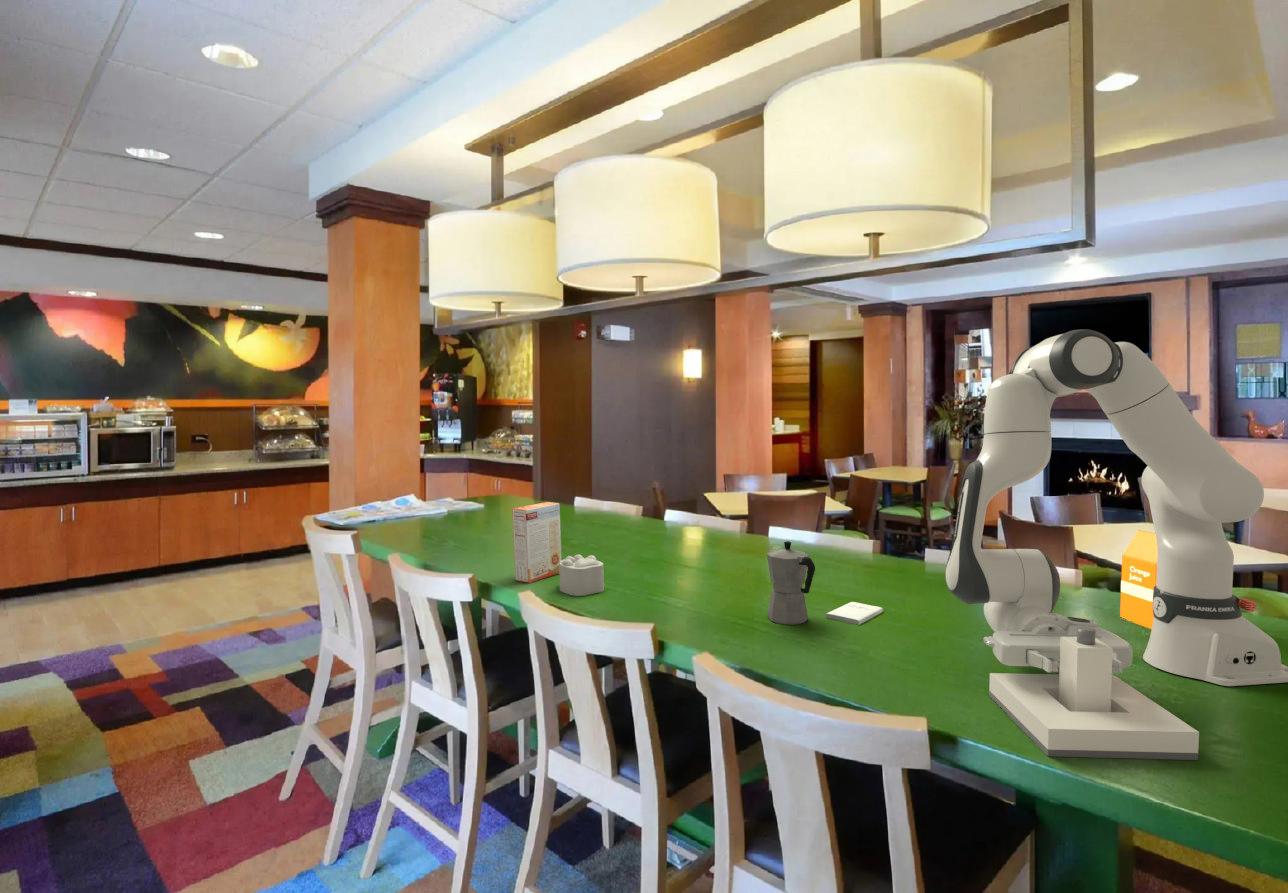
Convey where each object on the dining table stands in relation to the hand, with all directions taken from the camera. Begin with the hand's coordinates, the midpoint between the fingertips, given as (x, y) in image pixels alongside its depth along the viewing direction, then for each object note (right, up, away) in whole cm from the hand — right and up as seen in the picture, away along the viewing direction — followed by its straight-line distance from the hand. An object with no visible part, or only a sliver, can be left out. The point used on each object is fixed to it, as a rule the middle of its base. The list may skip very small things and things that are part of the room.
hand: (1085, 668), depth 108 cm
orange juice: (+45, -5, +48) cm, 66 cm away
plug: (0, -8, 0) cm, 8 cm away
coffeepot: (-34, -6, +53) cm, 64 cm away
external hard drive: (-18, -6, +56) cm, 60 cm away
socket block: (0, -9, +1) cm, 9 cm away
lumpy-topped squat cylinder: (-85, -5, +82) cm, 118 cm away
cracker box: (-98, -4, +95) cm, 137 cm away
